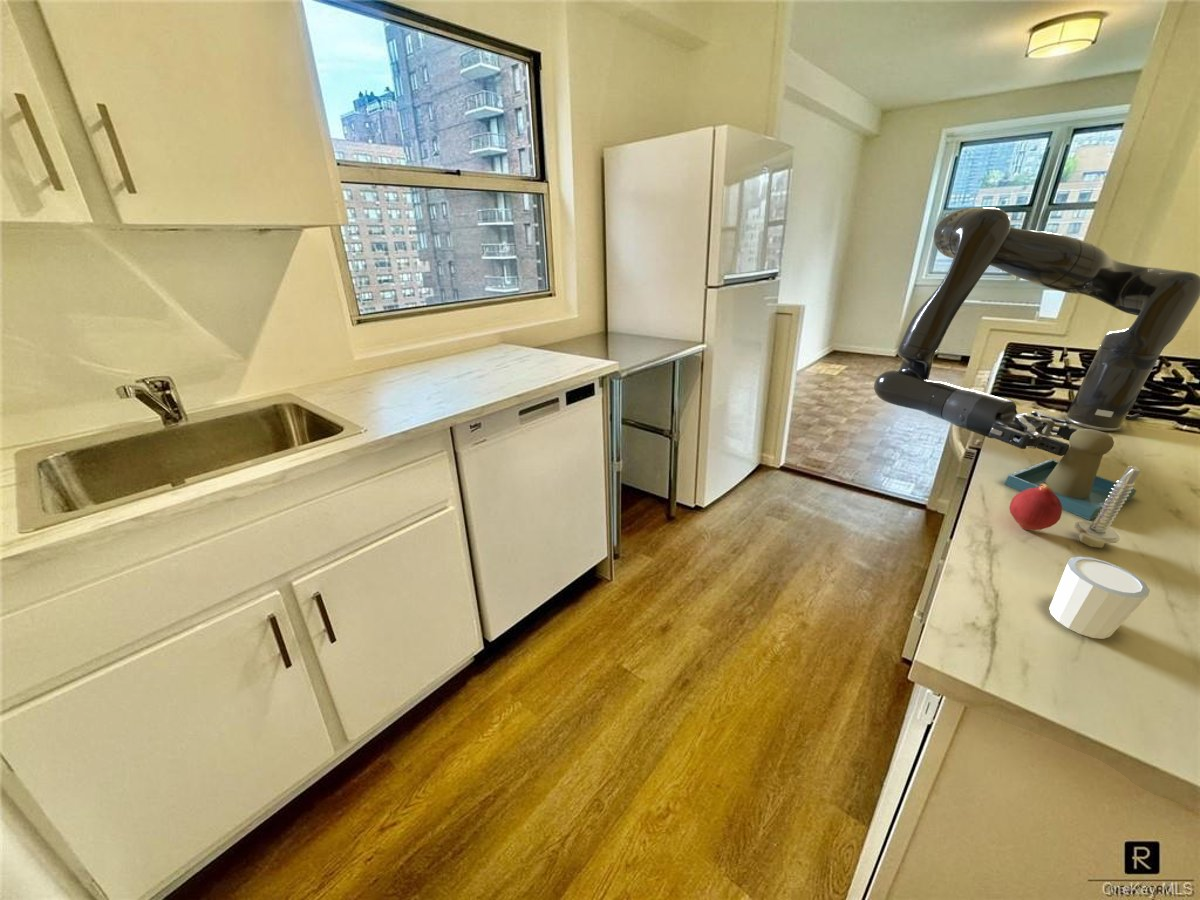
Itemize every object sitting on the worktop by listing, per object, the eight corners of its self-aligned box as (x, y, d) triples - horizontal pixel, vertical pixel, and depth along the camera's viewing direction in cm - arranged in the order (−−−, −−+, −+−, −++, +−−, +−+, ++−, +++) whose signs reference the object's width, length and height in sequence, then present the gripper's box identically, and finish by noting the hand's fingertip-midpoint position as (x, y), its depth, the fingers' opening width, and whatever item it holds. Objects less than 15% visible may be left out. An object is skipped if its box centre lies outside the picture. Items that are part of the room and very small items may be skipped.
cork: (1098, 500, 81) (1131, 441, 76) (1056, 496, 82) (1087, 438, 77) (1074, 482, 86) (1104, 426, 81) (1036, 478, 87) (1063, 423, 82)
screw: (1102, 556, 68) (1061, 537, 72) (1119, 547, 70) (1079, 529, 74) (1150, 477, 62) (1103, 461, 66) (1168, 470, 64) (1121, 454, 68)
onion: (1039, 522, 76) (1062, 478, 72) (1057, 544, 71) (1082, 498, 67) (996, 515, 77) (1016, 472, 74) (1010, 536, 73) (1032, 490, 69)
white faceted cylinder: (1028, 600, 61) (1052, 557, 57) (1078, 597, 61) (1104, 554, 58) (1080, 645, 55) (1111, 599, 51) (1135, 641, 55) (1169, 595, 52)
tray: (1046, 467, 92) (1051, 458, 91) (1131, 499, 82) (1137, 489, 81) (1004, 484, 86) (1008, 475, 85) (1089, 520, 76) (1095, 510, 75)
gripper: (962, 399, 89) (1068, 433, 77) (1005, 388, 95) (1111, 418, 82) (948, 436, 93) (1047, 474, 80) (991, 423, 99) (1090, 457, 86)
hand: (1079, 445), depth 81 cm, fingers open, 8 cm apart
